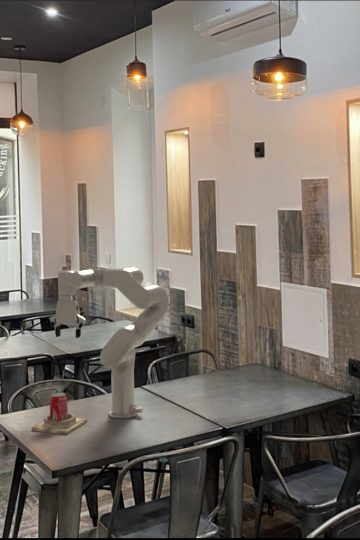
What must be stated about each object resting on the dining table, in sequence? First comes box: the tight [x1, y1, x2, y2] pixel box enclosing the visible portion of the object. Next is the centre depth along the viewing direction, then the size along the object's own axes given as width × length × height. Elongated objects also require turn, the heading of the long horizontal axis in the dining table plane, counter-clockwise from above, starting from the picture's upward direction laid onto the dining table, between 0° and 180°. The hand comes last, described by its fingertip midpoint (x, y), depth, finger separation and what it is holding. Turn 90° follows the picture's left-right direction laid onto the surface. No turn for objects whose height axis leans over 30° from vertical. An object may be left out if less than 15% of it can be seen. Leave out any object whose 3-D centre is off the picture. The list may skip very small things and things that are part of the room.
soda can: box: [49, 391, 69, 422], centre depth 266 cm, size 7×7×12 cm
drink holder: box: [31, 412, 88, 435], centre depth 266 cm, size 16×16×4 cm
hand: (68, 337), depth 290 cm, fingers open, 9 cm apart
